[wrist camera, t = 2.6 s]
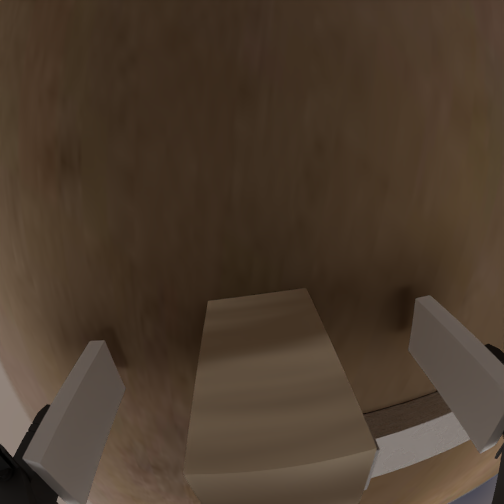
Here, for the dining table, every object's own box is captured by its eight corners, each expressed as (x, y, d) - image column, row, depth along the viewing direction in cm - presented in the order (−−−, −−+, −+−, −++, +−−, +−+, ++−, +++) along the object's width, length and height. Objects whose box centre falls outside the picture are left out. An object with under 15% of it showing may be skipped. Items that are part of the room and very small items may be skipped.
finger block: (207, 301, 13) (183, 474, 5) (305, 287, 13) (377, 448, 5) (226, 383, 14) (225, 537, 7) (309, 372, 14) (352, 519, 7)
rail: (239, 435, 16) (246, 598, 6) (544, 341, 16) (615, 409, 6) (250, 476, 17) (260, 605, 8) (525, 387, 17) (581, 455, 8)
